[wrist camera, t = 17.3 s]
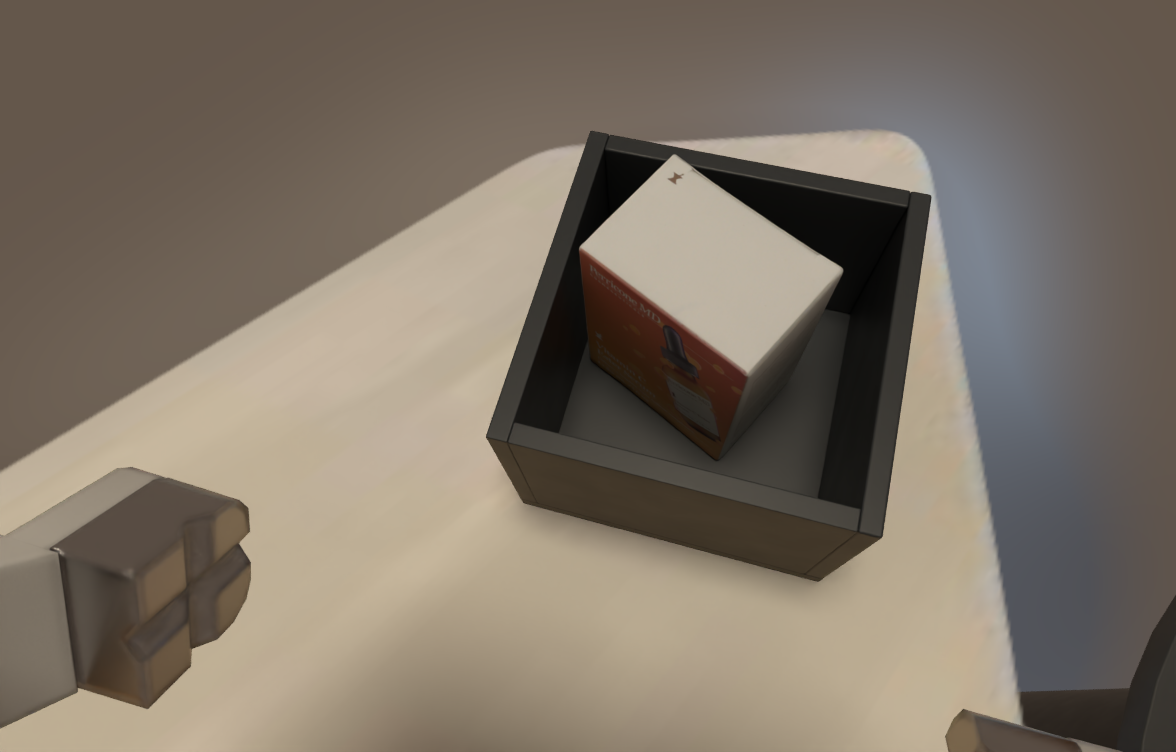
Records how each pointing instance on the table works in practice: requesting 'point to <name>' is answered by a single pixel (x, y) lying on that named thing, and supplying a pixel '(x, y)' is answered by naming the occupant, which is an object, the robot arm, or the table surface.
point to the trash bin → (783, 429)
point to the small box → (700, 303)
